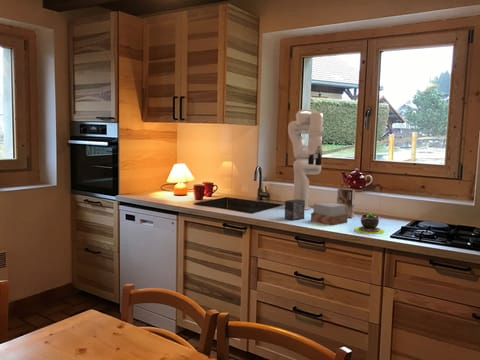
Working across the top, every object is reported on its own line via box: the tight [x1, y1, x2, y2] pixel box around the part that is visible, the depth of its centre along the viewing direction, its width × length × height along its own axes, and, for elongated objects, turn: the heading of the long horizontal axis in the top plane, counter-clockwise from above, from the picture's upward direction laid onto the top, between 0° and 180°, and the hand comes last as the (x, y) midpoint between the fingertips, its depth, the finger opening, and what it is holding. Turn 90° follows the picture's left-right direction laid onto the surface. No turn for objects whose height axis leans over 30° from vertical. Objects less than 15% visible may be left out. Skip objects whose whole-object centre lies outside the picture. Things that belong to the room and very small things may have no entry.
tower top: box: [312, 201, 345, 216], centre depth 241 cm, size 12×12×5 cm
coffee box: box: [336, 188, 356, 219], centre depth 259 cm, size 9×6×16 cm
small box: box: [284, 199, 306, 221], centre depth 247 cm, size 11×6×10 cm, turn 134°
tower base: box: [310, 212, 348, 227], centre depth 242 cm, size 14×14×5 cm
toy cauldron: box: [353, 210, 386, 235], centre depth 222 cm, size 15×15×11 cm
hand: (314, 164), depth 252 cm, fingers open, 9 cm apart
